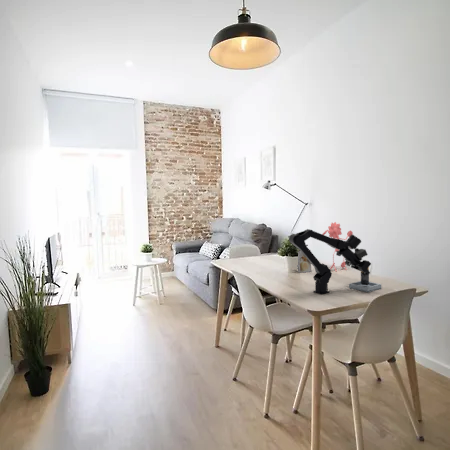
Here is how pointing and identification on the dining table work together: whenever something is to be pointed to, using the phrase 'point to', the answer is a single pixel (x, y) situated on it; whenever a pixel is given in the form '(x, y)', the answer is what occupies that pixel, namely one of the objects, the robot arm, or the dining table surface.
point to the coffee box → (303, 263)
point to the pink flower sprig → (335, 232)
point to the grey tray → (365, 286)
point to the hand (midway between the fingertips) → (367, 272)
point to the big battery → (364, 278)
